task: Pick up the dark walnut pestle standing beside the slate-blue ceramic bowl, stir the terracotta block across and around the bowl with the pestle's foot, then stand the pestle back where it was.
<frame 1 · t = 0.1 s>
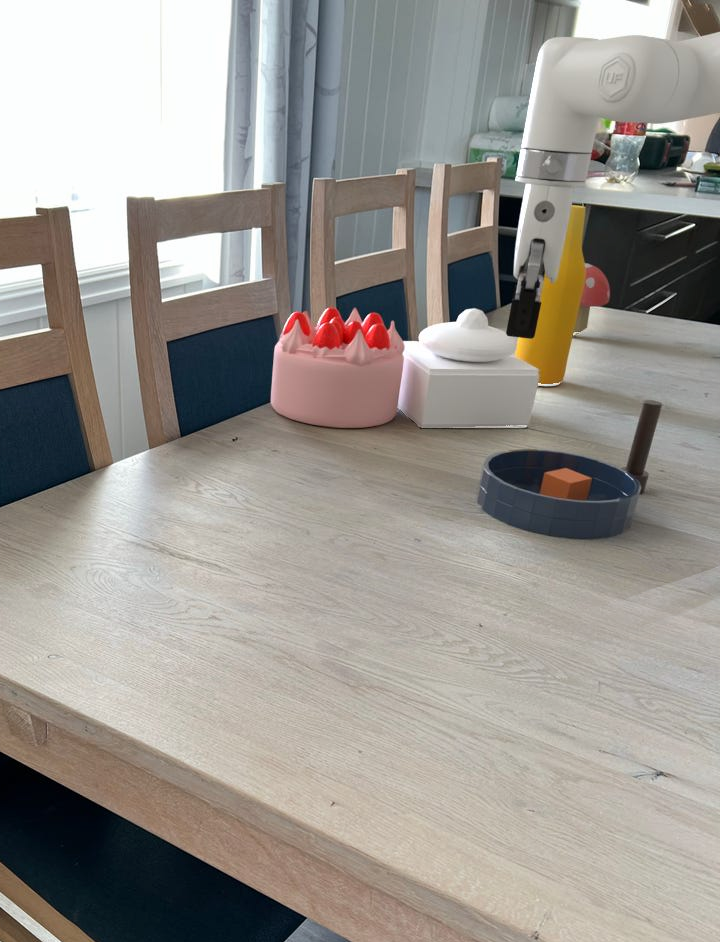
hand: (520, 328, 115), 20 cm above the table, tool pointing down, fingers open, 9 cm apart
bowl: (551, 513, 119), on the table
decorative mushroom: (567, 337, 212), on the table
cake: (333, 411, 151), on the table
beer bottle: (535, 382, 175), on the table
butter dish: (452, 412, 155), on the table
block: (560, 506, 119), point 1 cm above the table, touching bowl
pestle: (628, 493, 126), on the table
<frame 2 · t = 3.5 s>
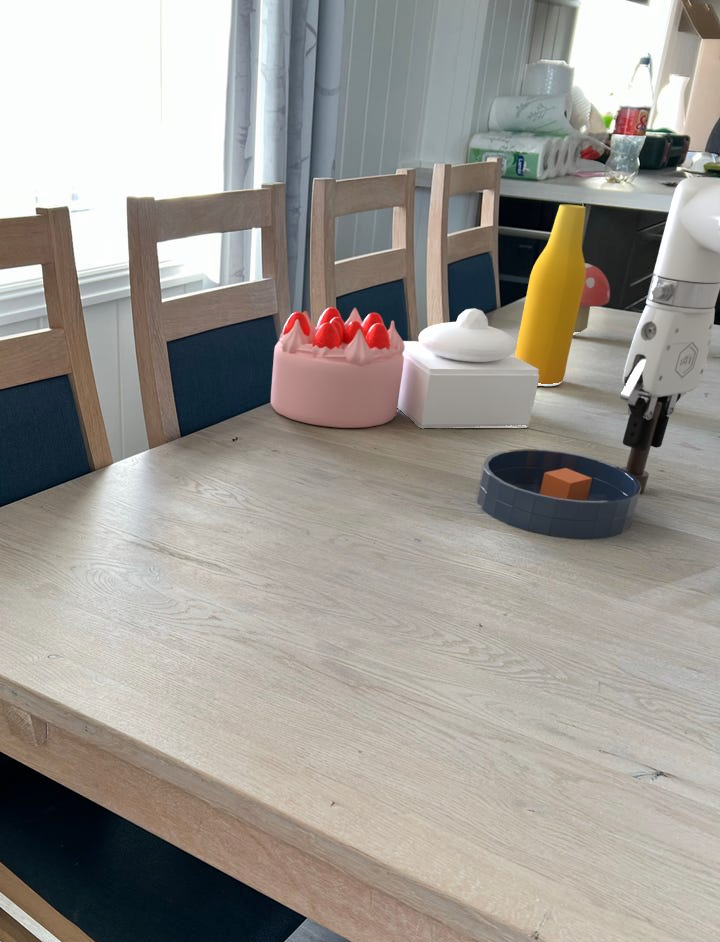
hand: (641, 444, 123), 7 cm above the table, tool pointing down, fingers closed on pestle, 2 cm apart
pestle: (628, 493, 126), on the table, touching gripper
everything else where it was.
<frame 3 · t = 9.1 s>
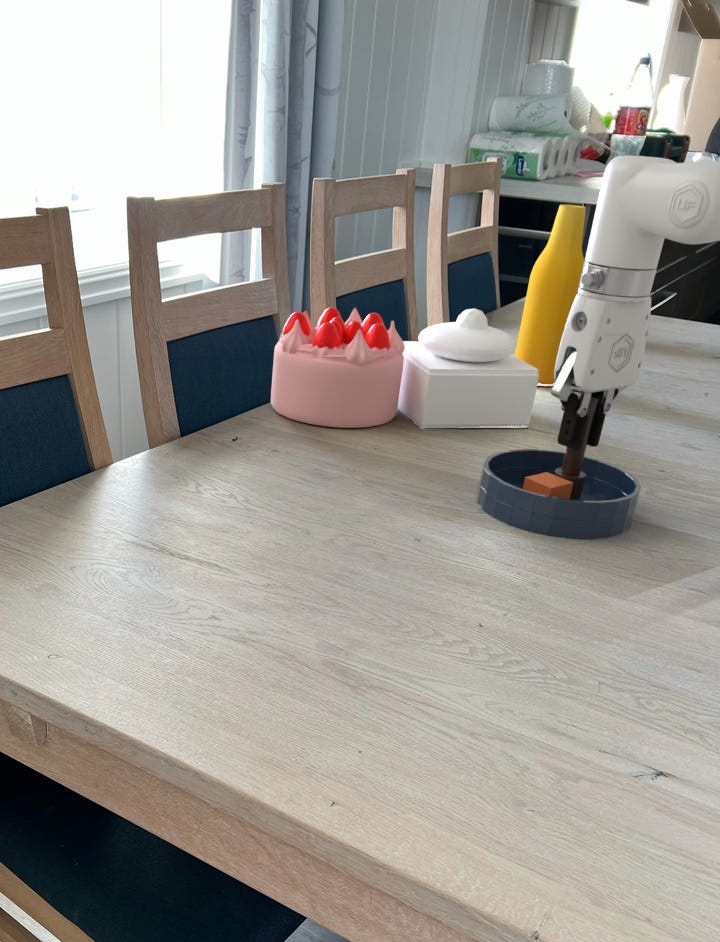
hand: (577, 443, 115), 8 cm above the table, tool pointing down, fingers closed on pestle, 2 cm apart
block: (542, 511, 117), point 1 cm above the table, touching bowl
pestle: (564, 495, 119), point 2 cm above the table, touching gripper
everything else where it was.
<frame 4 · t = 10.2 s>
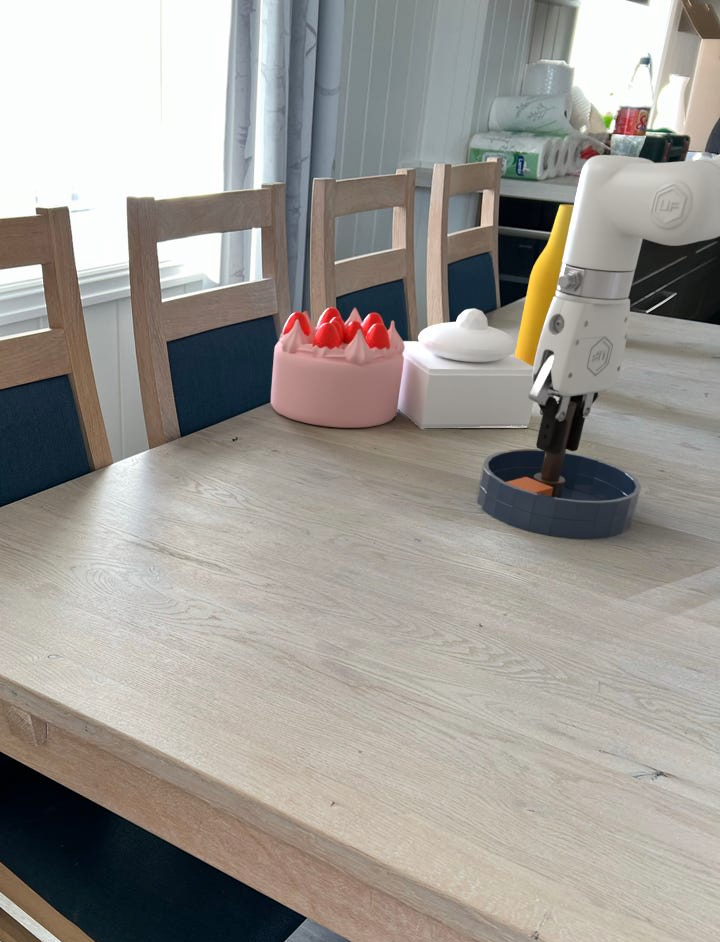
hand: (556, 448, 113), 8 cm above the table, tool pointing down, fingers closed on pestle, 2 cm apart
block: (521, 516, 115), point 1 cm above the table, touching pestle
pestle: (544, 501, 117), point 2 cm above the table, touching block, gripper
everything else where it was.
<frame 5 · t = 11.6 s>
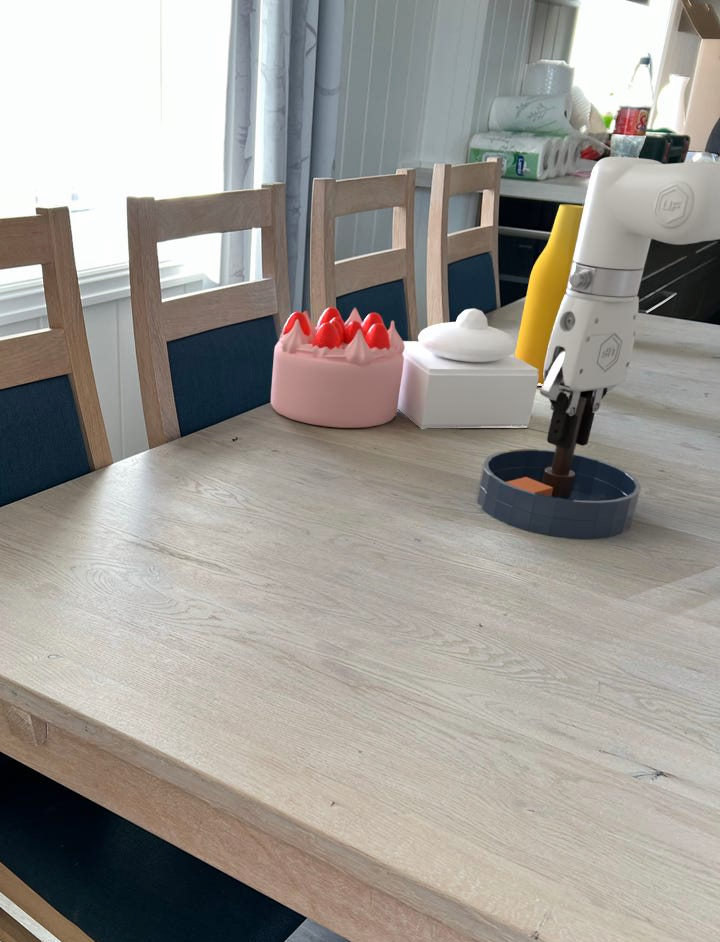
hand: (566, 442, 116), 8 cm above the table, tool pointing down, fingers closed on pestle, 2 cm apart
block: (521, 516, 115), point 1 cm above the table, touching bowl
pestle: (554, 494, 119), point 2 cm above the table, touching gripper
everything else where it was.
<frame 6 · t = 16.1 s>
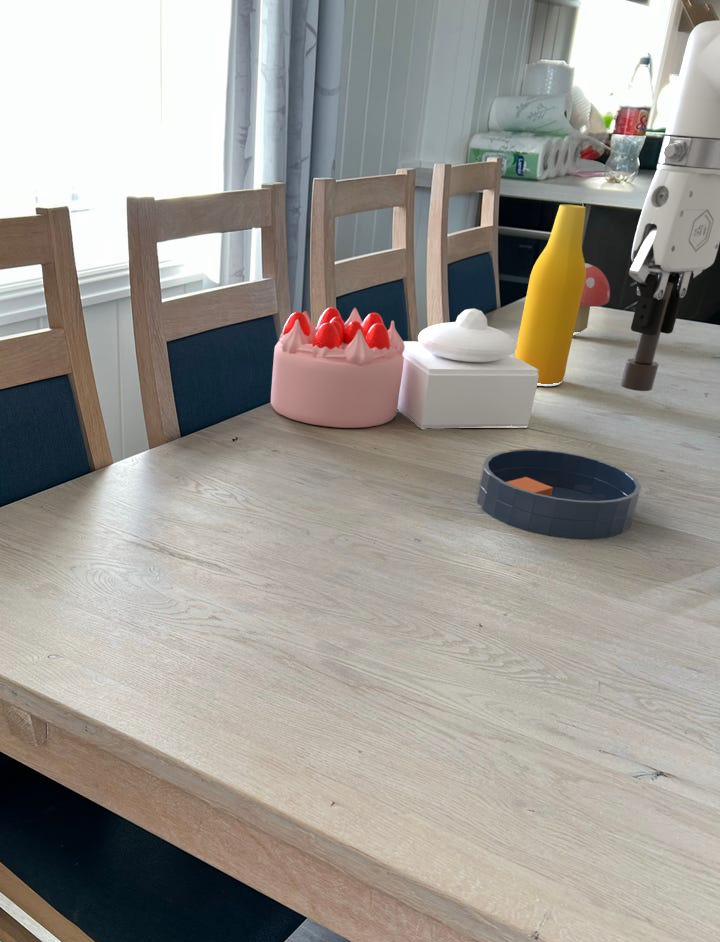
hand: (651, 330, 114), 21 cm above the table, tool pointing down, fingers closed on pestle
pestle: (636, 387, 117), point 14 cm above the table, touching gripper
everything else where it was.
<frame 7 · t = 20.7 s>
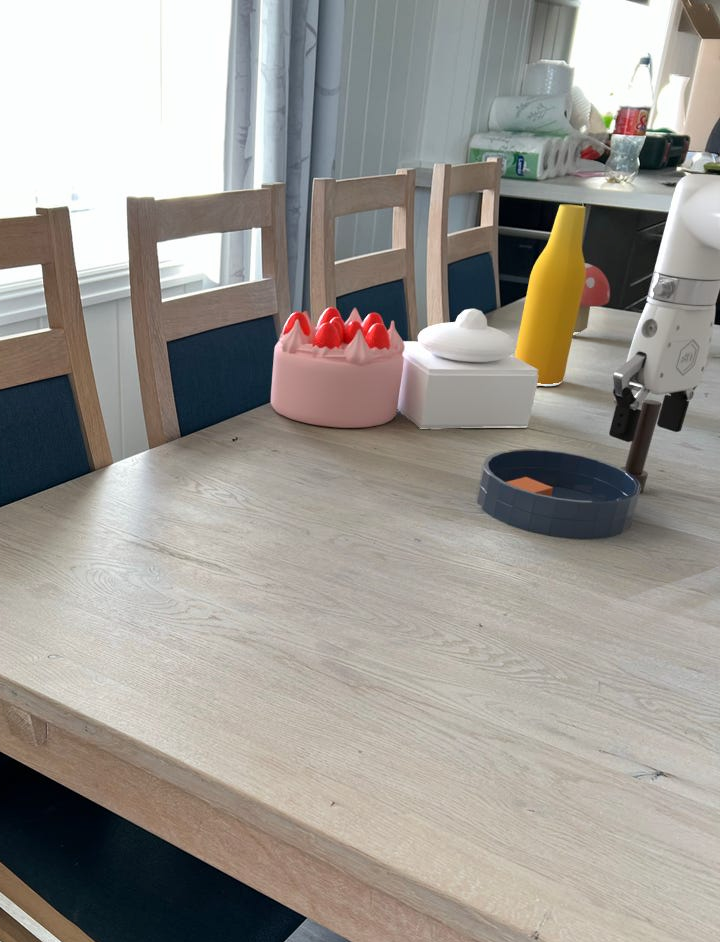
hand: (644, 433, 122), 8 cm above the table, tool pointing down, fingers open, 9 cm apart
pestle: (627, 493, 126), on the table
everything else where it was.
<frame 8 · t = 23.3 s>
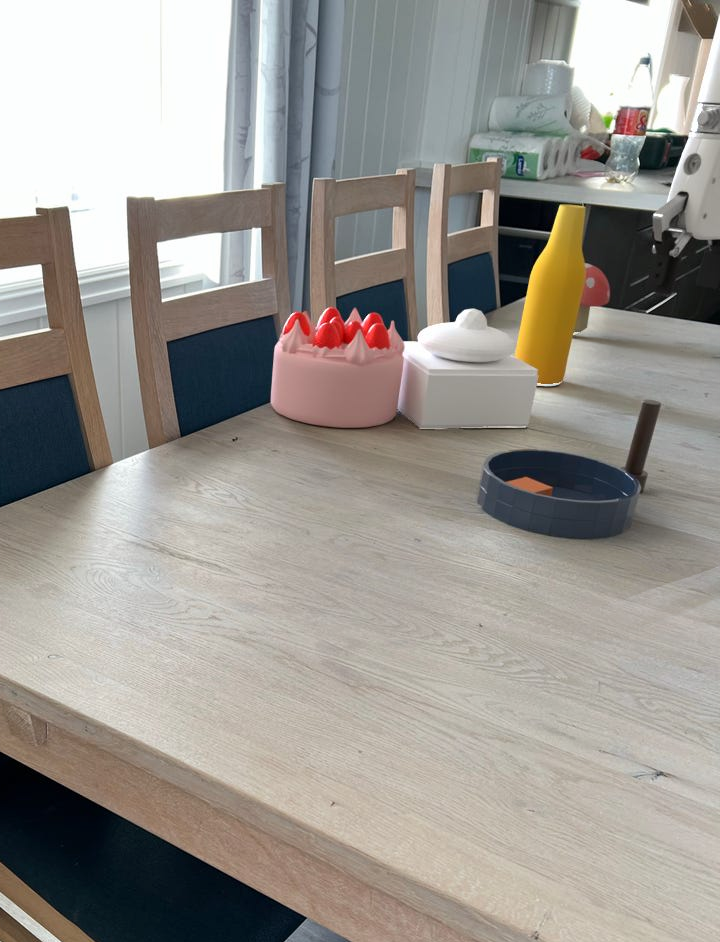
hand: (683, 290, 114), 25 cm above the table, tool pointing down, fingers open, 9 cm apart
nothing on the table moved.
at the end: block moved 7.2 cm from its start; block inside the target area in the bowl (5.7 cm from its centre), point 0.6 cm above the bowl's base; cake moved 0.2 cm from its start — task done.
